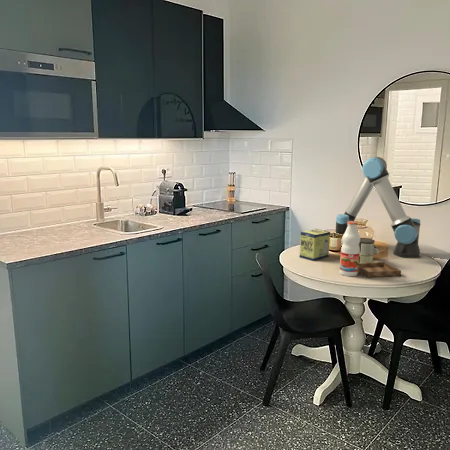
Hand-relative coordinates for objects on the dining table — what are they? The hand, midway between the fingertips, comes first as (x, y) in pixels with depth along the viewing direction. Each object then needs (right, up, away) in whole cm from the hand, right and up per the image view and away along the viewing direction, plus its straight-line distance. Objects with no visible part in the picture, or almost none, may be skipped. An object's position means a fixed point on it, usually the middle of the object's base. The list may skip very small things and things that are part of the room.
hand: (367, 252), depth 253 cm
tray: (+1, -10, -11) cm, 15 cm away
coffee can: (-1, -7, +5) cm, 8 cm away
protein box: (-26, -4, +17) cm, 31 cm away
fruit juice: (-14, -11, -14) cm, 23 cm away
